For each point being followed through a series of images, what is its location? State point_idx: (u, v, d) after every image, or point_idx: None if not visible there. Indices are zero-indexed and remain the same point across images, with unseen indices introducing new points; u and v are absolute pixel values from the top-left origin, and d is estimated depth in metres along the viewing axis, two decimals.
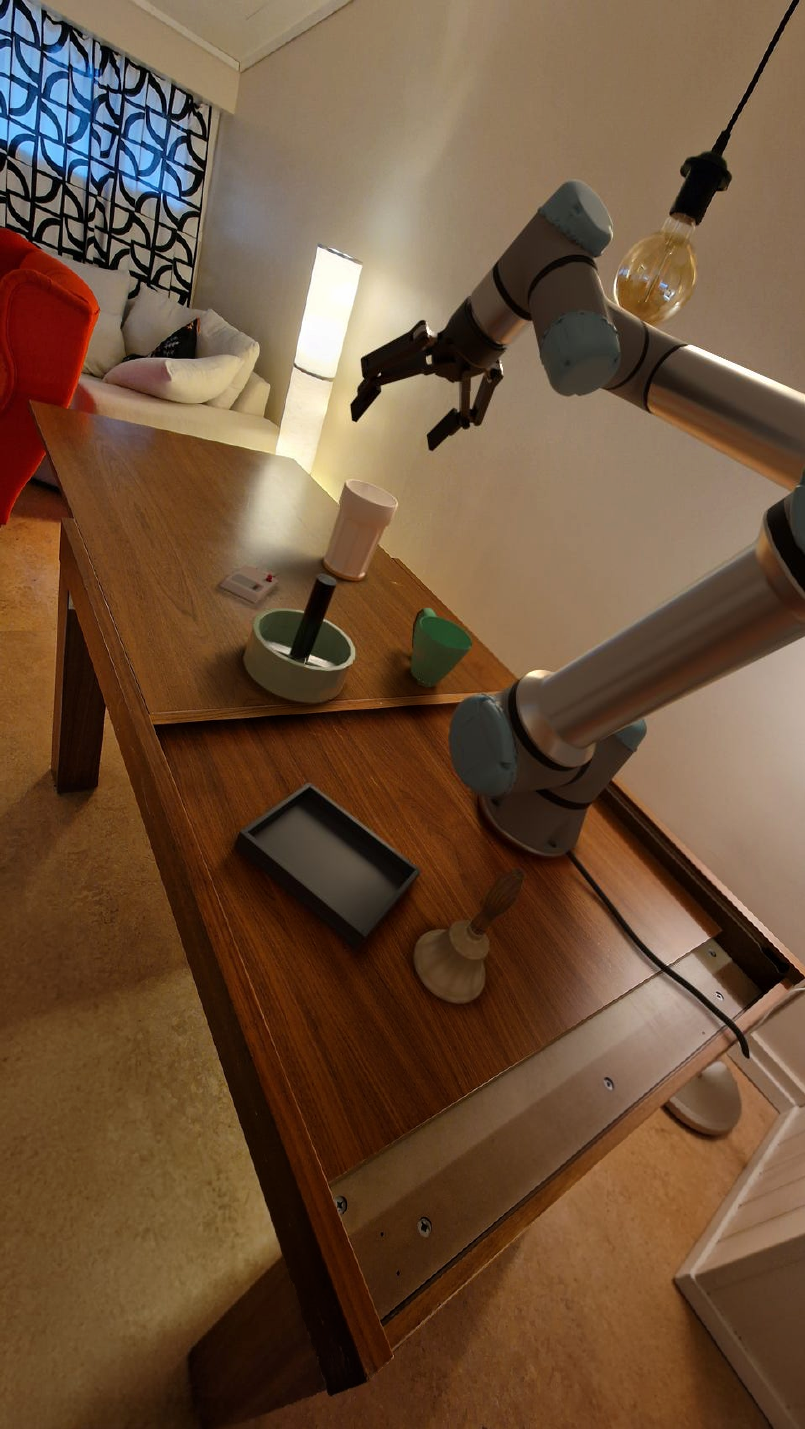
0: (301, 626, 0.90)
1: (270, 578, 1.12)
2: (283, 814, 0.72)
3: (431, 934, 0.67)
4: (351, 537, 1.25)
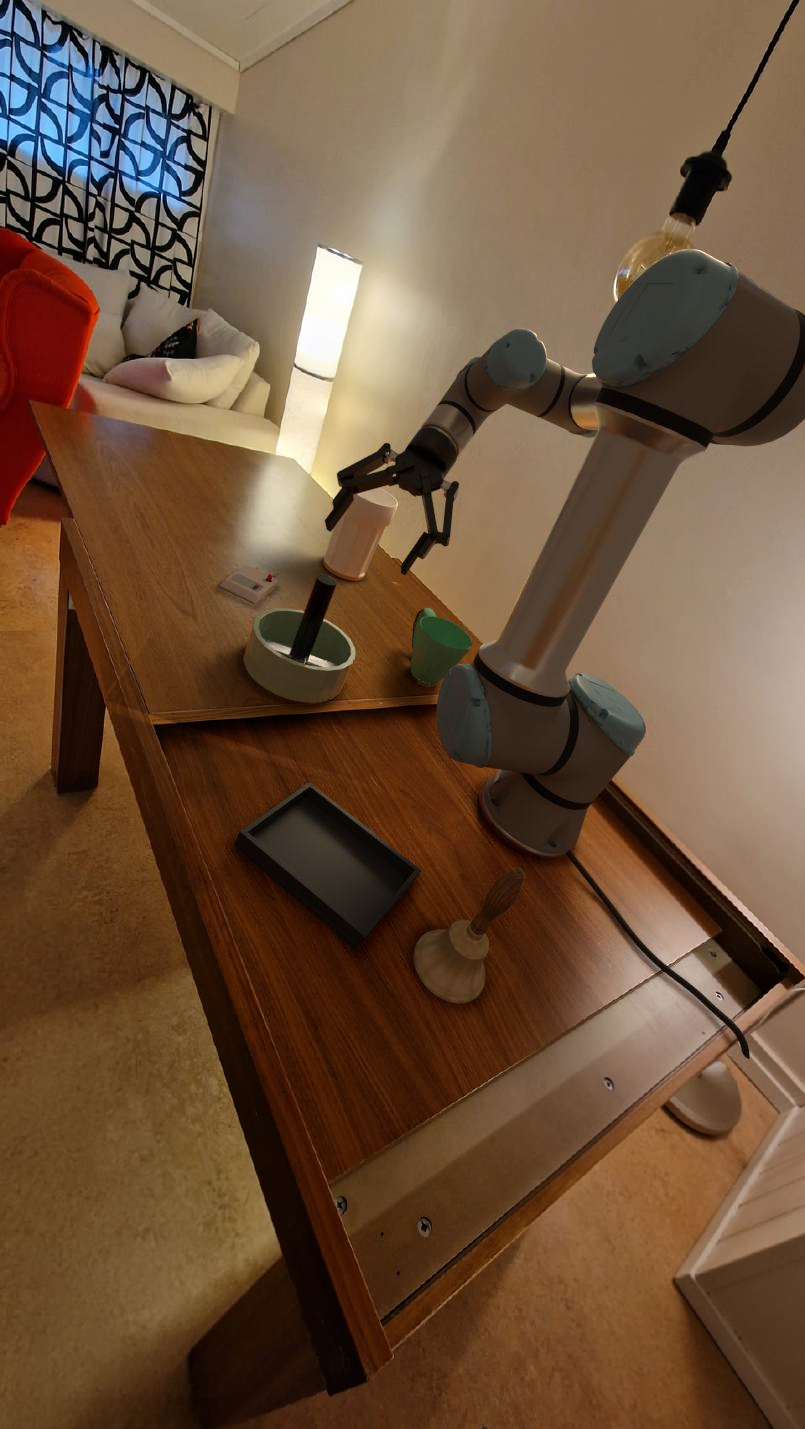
0: (301, 626, 0.90)
1: (270, 578, 1.12)
2: (283, 814, 0.72)
3: (431, 934, 0.67)
4: (351, 537, 1.25)
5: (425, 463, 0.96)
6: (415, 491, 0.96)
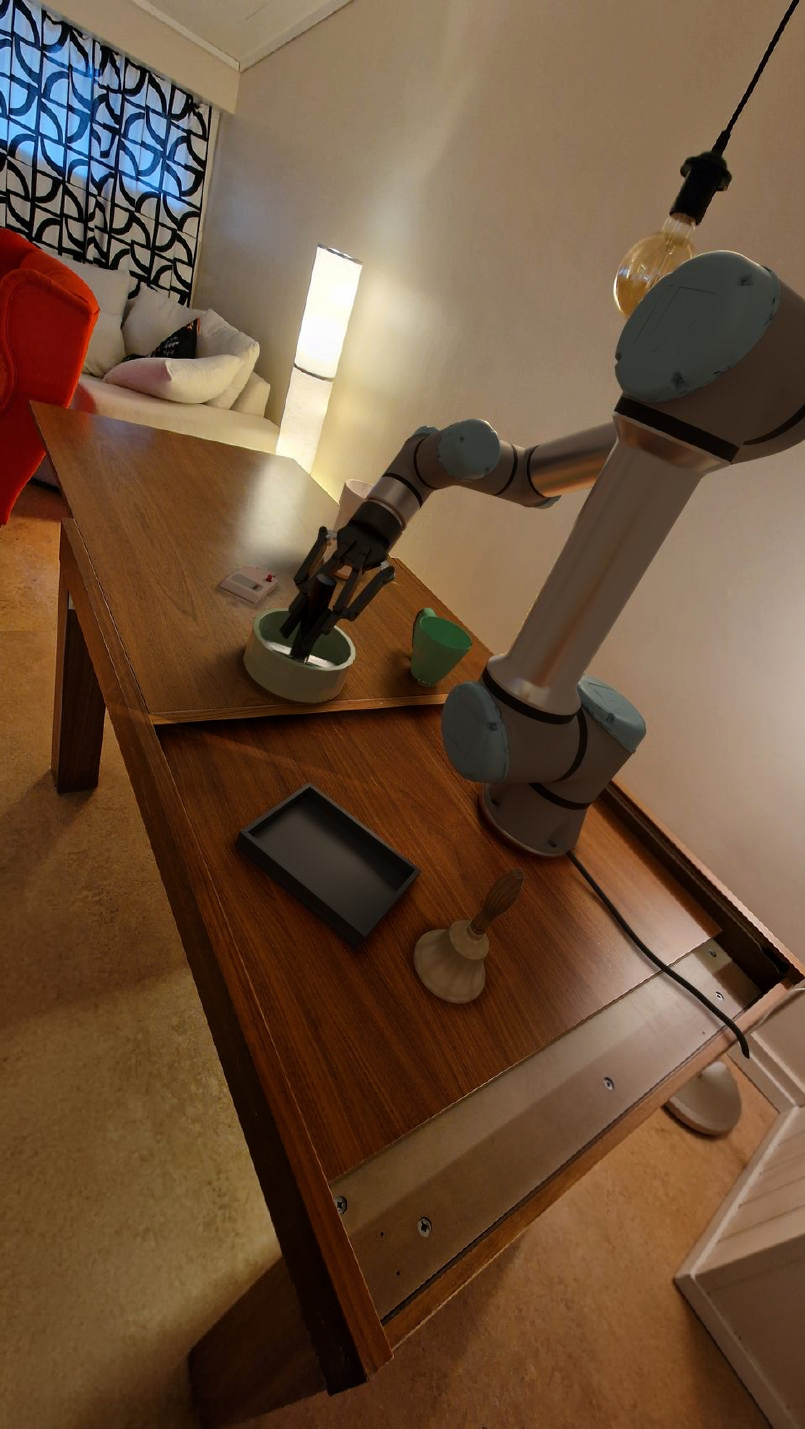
0: (301, 626, 0.90)
1: (270, 578, 1.12)
2: (283, 814, 0.72)
3: (431, 934, 0.67)
4: None
5: (368, 539, 0.92)
6: None
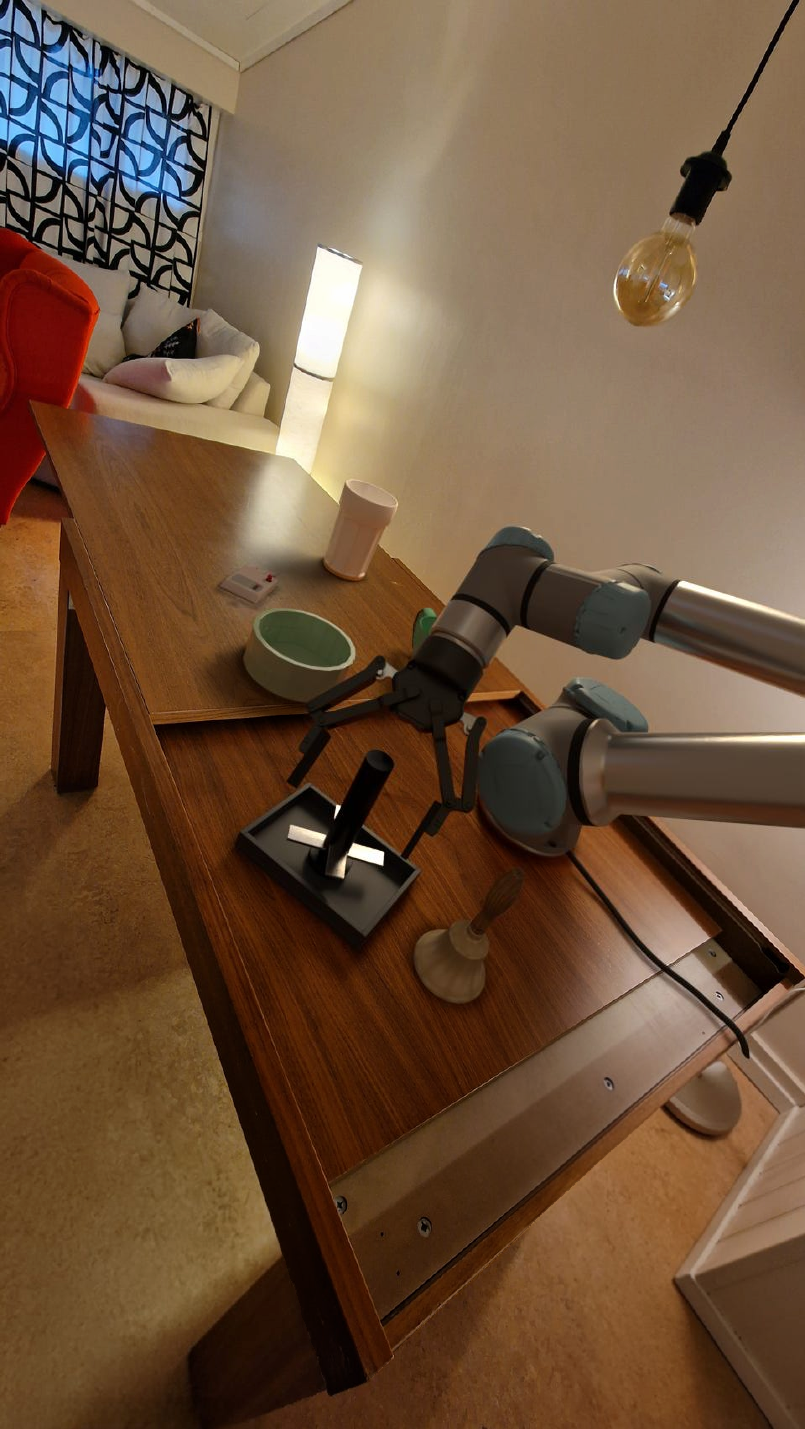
0: (341, 816, 0.64)
1: (270, 578, 1.12)
2: (283, 814, 0.72)
3: (431, 934, 0.67)
4: (351, 537, 1.25)
5: (437, 688, 0.65)
6: (422, 730, 0.65)
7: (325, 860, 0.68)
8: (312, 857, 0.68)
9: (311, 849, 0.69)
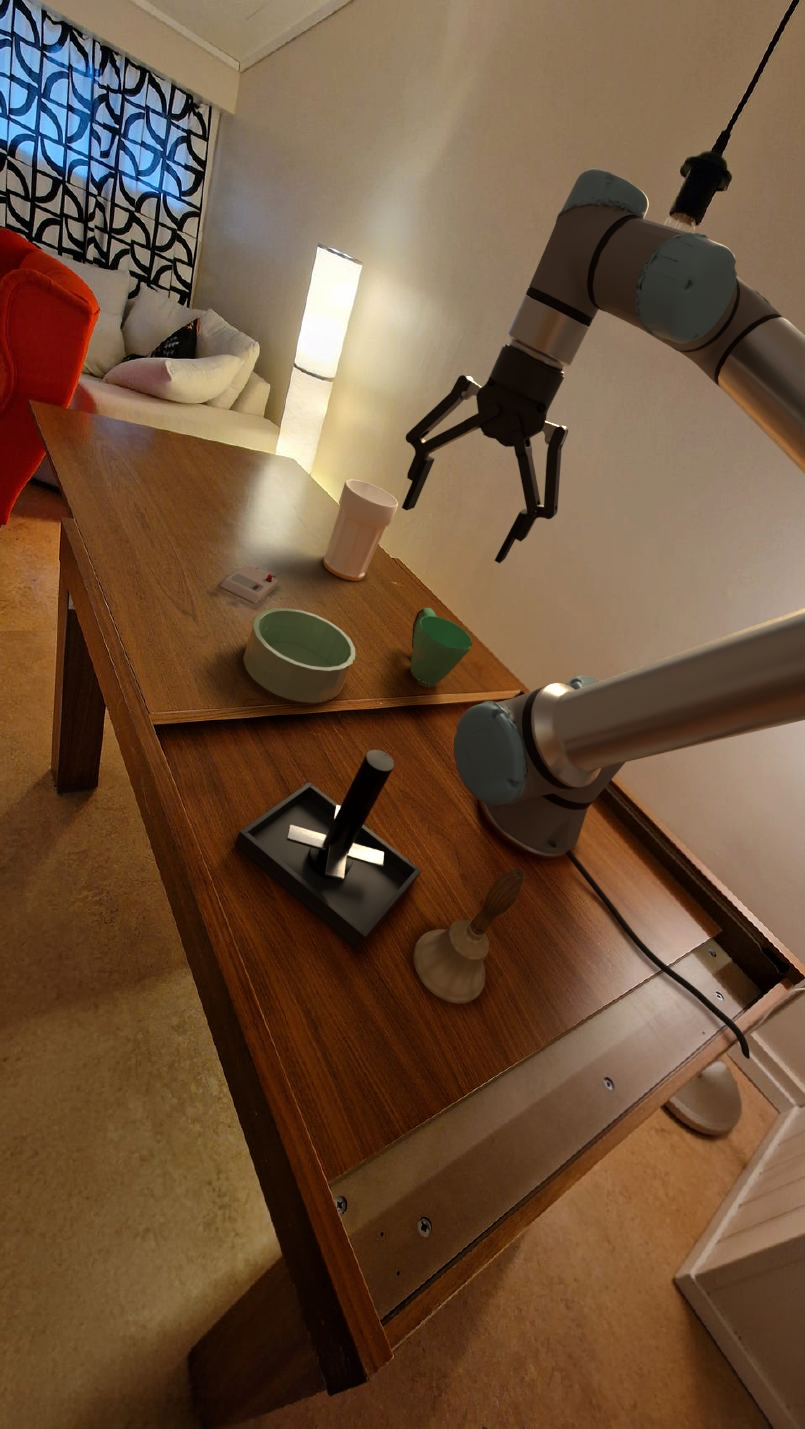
0: (341, 816, 0.64)
1: (270, 578, 1.12)
2: (283, 814, 0.72)
3: (431, 934, 0.67)
4: (351, 537, 1.25)
5: (517, 402, 0.69)
6: (507, 446, 0.72)
7: (325, 860, 0.68)
8: (312, 857, 0.68)
9: (311, 849, 0.69)
